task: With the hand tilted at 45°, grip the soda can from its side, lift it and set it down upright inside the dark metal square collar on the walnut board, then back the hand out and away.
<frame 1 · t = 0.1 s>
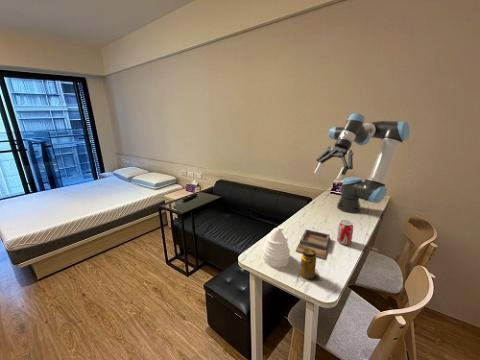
hand: (326, 176, 116), 36 cm above the table, tool tilted 35°, fingers open, 13 cm apart
honey pot: (275, 259, 109), on the table
condiment: (309, 275, 98), on the table
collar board: (314, 243, 122), on the table
soda can: (343, 242, 121), on the table
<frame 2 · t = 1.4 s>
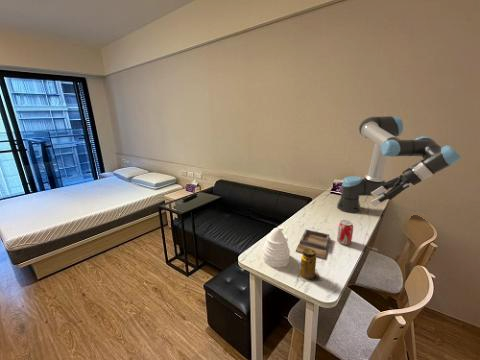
hand: (372, 199, 111), 26 cm above the table, tool tilted 45°, fingers open, 13 cm apart
nothing on the table moved.
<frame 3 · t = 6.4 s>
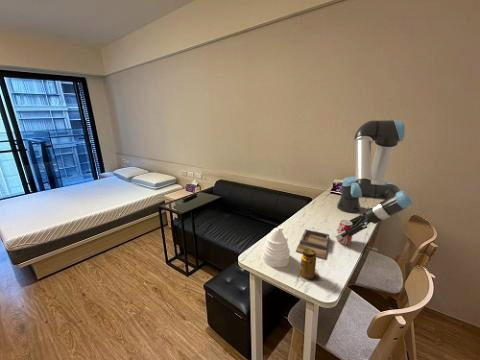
hand: (337, 234, 121), 4 cm above the table, tool tilted 45°, fingers closed on soda can, 7 cm apart
soda can: (343, 242, 121), on the table, touching gripper
everything else where it was.
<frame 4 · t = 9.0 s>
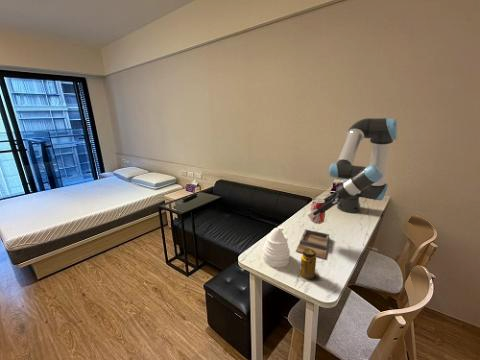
hand: (310, 213, 118), 16 cm above the table, tool tilted 45°, fingers closed on soda can, 7 cm apart
soda can: (317, 221, 118), point 12 cm above the table, touching gripper
everything else where it was.
when the fingers open (6 cm above the table, at t = 11.7 s): soda can drops 2 cm, resting on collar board.
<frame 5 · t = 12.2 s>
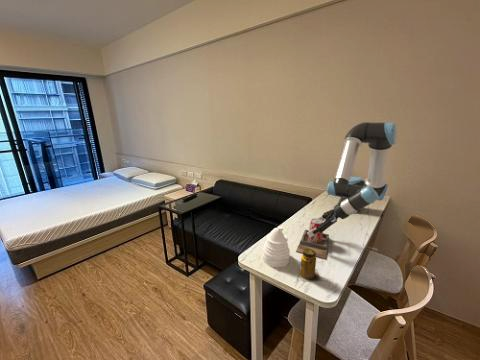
hand: (311, 229, 120), 7 cm above the table, tool tilted 45°, fingers open, 13 cm apart
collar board: (314, 243, 122), on the table, touching soda can
soda can: (315, 241, 122), point 1 cm above the table, touching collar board
everything else where it was.
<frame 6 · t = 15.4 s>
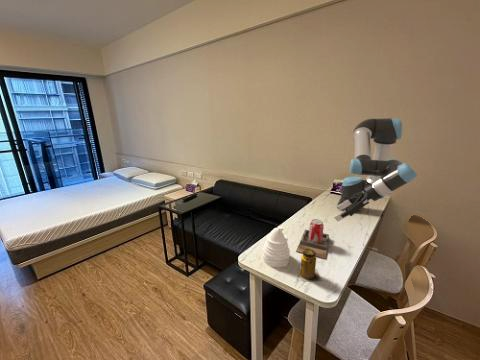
hand: (337, 213, 111), 19 cm above the table, tool tilted 45°, fingers open, 13 cm apart
soda can: (314, 242, 121), point 1 cm above the table, touching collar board
everything else where it was.
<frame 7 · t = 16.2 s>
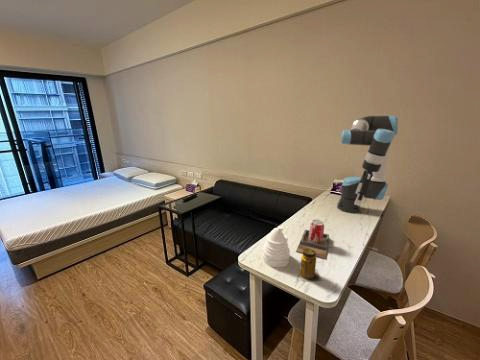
hand: (357, 199, 117), 24 cm above the table, tool pointing down, fingers open, 13 cm apart
nothing on the table moved.
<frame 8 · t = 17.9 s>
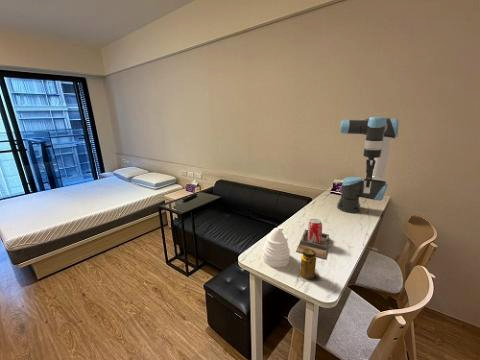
hand: (366, 188, 117), 29 cm above the table, tool pointing down, fingers open, 13 cm apart
at the end: soda can 1.6 cm off-centre on the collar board, point 1.7 cm above the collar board's base; soda can tilted 7°; the gripper is holding nothing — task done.
